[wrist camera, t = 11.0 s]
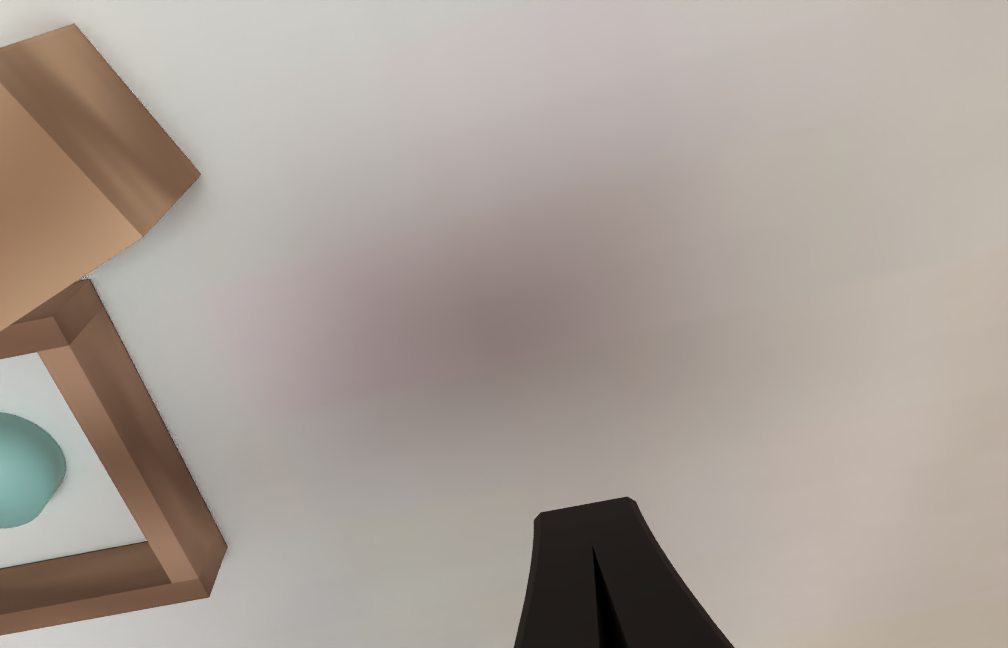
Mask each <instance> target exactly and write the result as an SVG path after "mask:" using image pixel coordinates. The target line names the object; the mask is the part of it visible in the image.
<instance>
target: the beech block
mask: <svg viewBox="0 0 1008 648" xmlns="http://www.w3.org/2000/svg"><path fill="white" fill-rule="evenodd" d="M200 175H201V173H200V172H199V171H198V170H197V169H196V167H195V166H194V165H193V164H192V163H191V162H190V160H189V159H188V158H187V157H186V156H185V154H184V153H183V152H182V151H181V150H180V148H179V147H178V146H177V145H176V144H175V142H174V141H173V140H172V139H171V138H170V137H169V135H168V134H167V133H166V132H165V131H164V129H163V128H162V127H161V126H160V125H159V123H158V122H157V121H156V120H155V119H154V118H153V116H152V115H151V114H150V113H149V112H148V110H147V109H146V108H145V107H144V106H143V104H142V103H141V102H140V101H139V100H138V98H137V97H136V96H135V95H134V94H133V93H132V91H131V90H130V89H129V88H128V87H127V85H126V84H125V83H124V82H123V81H122V79H121V78H120V77H119V76H118V75H117V74H116V72H115V71H114V70H113V69H112V68H111V66H110V65H109V64H108V63H107V62H106V60H105V59H104V58H103V57H102V56H101V55H100V53H99V52H98V51H97V50H96V49H95V47H94V46H93V45H92V44H91V43H90V41H89V40H88V39H87V38H86V37H85V35H84V34H83V33H82V32H81V31H80V30H79V28H78V27H77V26H76V25H75V24H72V25H69V26H66V27H63V28H60V29H57V30H54V31H51V32H48V33H44V34H41V35H38V36H35V37H32V38H29V39H26V40H23V41H20V42H17V43H14V44H11V45H8V46H5V47H2V48H0V331H2V330H3V329H5V328H6V327H8V326H9V325H11V324H12V323H14V322H15V321H17V320H18V319H20V318H21V317H23V316H24V315H26V314H27V313H29V312H30V311H32V310H33V309H35V308H36V307H38V306H39V305H41V304H42V303H44V302H46V301H47V300H49V299H50V298H52V297H53V296H55V295H56V294H58V293H59V292H61V291H62V290H64V289H65V288H67V287H68V286H70V285H71V284H73V283H74V282H76V281H77V280H79V279H80V278H82V277H83V276H85V275H86V274H88V273H89V272H91V271H92V270H94V269H95V268H97V267H98V266H100V265H101V264H103V263H104V262H106V261H108V260H109V259H111V258H112V257H114V256H115V255H117V254H118V253H120V252H121V251H123V250H124V249H126V248H127V247H129V246H130V245H132V244H133V243H135V242H136V241H138V240H139V239H141V238H142V237H144V235H145V234H146V233H147V232H148V231H149V230H150V229H151V228H152V227H153V226H154V225H155V224H156V223H157V221H158V220H159V219H160V218H161V217H162V216H163V215H164V214H165V213H166V212H167V211H168V210H169V209H170V207H171V206H172V205H173V204H174V203H175V202H176V201H177V200H178V199H179V198H180V197H181V196H182V195H183V193H184V192H185V191H186V190H187V189H188V188H189V187H190V186H191V185H192V184H193V183H194V182H195V181H196V179H197V178H198V177H199V176H200Z"/></svg>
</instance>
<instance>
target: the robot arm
mask: <svg viewBox="0 0 1008 648" xmlns="http://www.w3.org/2000/svg"><path fill="white" fill-rule="evenodd" d="M514 648H734V647H733V645H732V644H731V643H730V642H729V640H728V639H727V638H726V637H725V635H724V634H723V633H722V632H721V630H720V629H719V628H718V627H717V625H716V624H715V623H714V622H713V620H712V619H711V618H710V616H709V615H708V614H707V612H706V611H705V610H704V608H703V607H702V606H701V604H700V603H699V602H698V600H697V599H696V598H695V596H694V595H693V594H692V592H691V591H690V590H689V588H688V587H687V586H686V584H685V583H684V581H683V580H682V579H681V577H680V576H679V574H678V573H677V571H676V570H675V568H674V567H673V565H672V564H671V562H670V561H669V559H668V558H667V556H666V555H665V553H664V552H663V550H662V549H661V547H660V545H659V544H658V542H657V541H656V539H655V537H654V536H653V534H652V532H651V530H650V529H649V527H648V525H647V523H646V521H645V519H644V518H643V516H642V514H641V512H640V510H639V507H638V505H637V503H636V501H634V500H632V499H630V498H629V497H622V498H617V499H612V500H606V501H601V502H595V503H590V504H584V505H579V506H574V507H568V508H563V509H557V510H552V511H546V512H541V513H540V514H539V515H538V516H537V517H536V518H535V519H534V539H533V551H532V559H531V566H530V573H529V579H528V584H527V590H526V596H525V601H524V605H523V610H522V614H521V618H520V623H519V627H518V632H517V636H516V640H515V645H514Z"/></svg>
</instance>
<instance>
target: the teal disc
mask: <svg viewBox="0 0 1008 648" xmlns="http://www.w3.org/2000/svg"><path fill="white" fill-rule="evenodd" d="M65 471H66V462H65V457H64V455H63V452H62V450H61V448H60V446H59V445H58V444H57V442H56V441H55V440H54V439H53V438H52V436H51V435H49V434H48V433H47V432H46V431H45V430H43V429H42V428H41V427H39V426H38V425H36V424H34V423H33V422H31V421H28V420H26V419H24V418H21V417H18V416H15V415H11V414H7V413H1V412H0V528H12V527H17V526H21V525H23V524H26V523H28V522H30V521H32V520H33V519H34V518H36V517H37V516H38V515H39V514H40V513H41V511H42V510H43V508H44V507H45V505H46V504H47V502H48V501H49V499H50V498H51V497H52V495H53V494H54V492H55V491H56V489H57V488H58V486H59V485H60V483H61V482H62V480H63V478H64V476H65Z"/></svg>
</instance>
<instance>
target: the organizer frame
mask: <svg viewBox="0 0 1008 648" xmlns="http://www.w3.org/2000/svg"><path fill="white" fill-rule="evenodd" d="M34 352H37V353H38V354H39V356H40V358H41V359H42V361H43V363H44V365H45V366H46V368H47V370H48V371H49V373H50V375H51V377H52V378H53V380H54V382H55V383H56V385H57V387H58V389H59V390H60V392H61V394H62V395H63V397H64V399H65V401H66V402H67V404H68V406H69V407H70V409H71V411H72V413H73V414H74V416H75V418H76V419H77V421H78V423H79V425H80V426H81V428H82V430H83V431H84V433H85V435H86V437H87V438H88V440H89V442H90V443H91V445H92V447H93V449H94V450H95V452H96V454H97V455H98V457H99V459H100V461H101V462H102V464H103V466H104V467H105V469H106V471H107V473H108V474H109V476H110V478H111V479H112V481H113V483H114V485H115V486H116V488H117V490H118V491H119V493H120V495H121V497H122V498H123V500H124V502H125V503H126V505H127V507H128V509H129V510H130V512H131V514H132V515H133V517H134V519H135V521H136V522H137V524H138V526H139V527H140V529H141V531H142V533H143V534H144V536H145V538H146V539H147V541H148V542H144V543H138V544H133V545H128V546H122V547H117V548H112V549H106V550H101V551H96V552H90V553H85V554H80V555H74V556H69V557H64V558H58V559H53V560H47V561H42V562H37V563H31V564H26V565H21V566H15V567H10V568H5V569H0V635H5V634H11V633H16V632H22V631H27V630H33V629H38V628H44V627H49V626H55V625H60V624H66V623H71V622H77V621H82V620H88V619H93V618H99V617H104V616H110V615H115V614H121V613H126V612H132V611H137V610H143V609H148V608H153V607H159V606H164V605H170V604H175V603H181V602H186V601H192V600H197V599H203V598H208V597H210V594H211V591H212V588H213V585H214V583H215V580H216V577H217V574H218V571H219V569H220V566H221V563H222V560H223V558H224V555H225V552H226V549H227V545H226V544H225V542H224V540H223V538H222V536H221V534H220V532H219V530H218V528H217V526H216V524H215V522H214V520H213V518H212V516H211V514H210V513H209V511H208V509H207V507H206V505H205V503H204V501H203V499H202V497H201V495H200V493H199V491H198V489H197V487H196V485H195V483H194V481H193V480H192V478H191V476H190V474H189V472H188V470H187V468H186V466H185V464H184V462H183V460H182V458H181V456H180V454H179V452H178V450H177V449H176V447H175V445H174V443H173V441H172V439H171V437H170V435H169V433H168V431H167V429H166V427H165V425H164V423H163V421H162V419H161V417H160V416H159V414H158V412H157V410H156V408H155V406H154V404H153V402H152V400H151V398H150V396H149V394H148V392H147V390H146V388H145V386H144V385H143V383H142V381H141V379H140V377H139V375H138V373H137V371H136V369H135V367H134V365H133V363H132V361H131V359H130V357H129V355H128V353H127V352H126V350H125V348H124V346H123V344H122V342H121V340H120V338H119V336H118V334H117V332H116V330H115V328H114V326H113V324H112V322H111V321H110V319H109V317H108V315H107V313H106V311H105V309H104V307H103V305H102V303H101V301H100V299H99V297H98V295H97V293H96V291H95V289H94V288H93V286H92V284H91V282H90V280H89V279H88V280H84V281H79V282H74V283H73V284H71V285H70V286H68V287H67V288H65V289H64V290H62V291H61V292H59V293H58V294H56V295H55V296H53V297H52V298H50V299H49V300H47V301H46V302H44V303H42V304H41V305H39V306H38V307H36V308H35V309H33V310H32V311H30V312H29V313H27V314H26V315H24V316H23V317H21V318H20V319H18V320H17V321H15V322H14V323H12V324H11V325H9V326H8V327H6V328H5V329H3V330H2V331H0V359H4V358H9V357H14V356H19V355H24V354H29V353H34Z"/></svg>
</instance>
